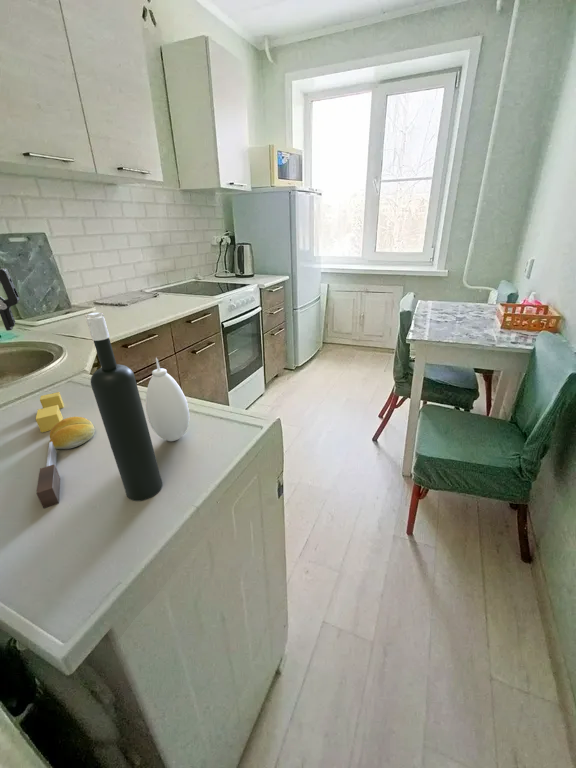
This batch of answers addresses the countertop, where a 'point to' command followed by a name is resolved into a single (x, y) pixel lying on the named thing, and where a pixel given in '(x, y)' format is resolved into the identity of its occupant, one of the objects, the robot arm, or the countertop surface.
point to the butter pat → (52, 400)
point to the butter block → (48, 418)
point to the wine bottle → (123, 417)
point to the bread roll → (71, 432)
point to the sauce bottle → (166, 406)
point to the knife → (49, 480)
